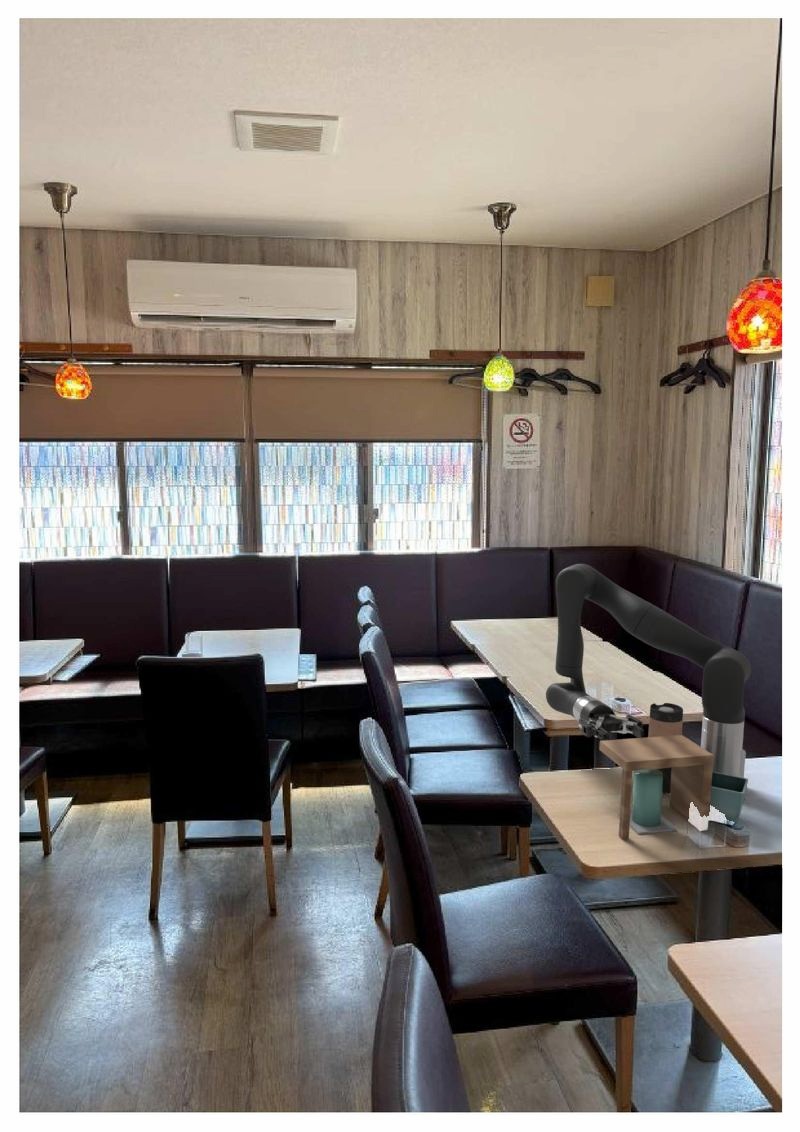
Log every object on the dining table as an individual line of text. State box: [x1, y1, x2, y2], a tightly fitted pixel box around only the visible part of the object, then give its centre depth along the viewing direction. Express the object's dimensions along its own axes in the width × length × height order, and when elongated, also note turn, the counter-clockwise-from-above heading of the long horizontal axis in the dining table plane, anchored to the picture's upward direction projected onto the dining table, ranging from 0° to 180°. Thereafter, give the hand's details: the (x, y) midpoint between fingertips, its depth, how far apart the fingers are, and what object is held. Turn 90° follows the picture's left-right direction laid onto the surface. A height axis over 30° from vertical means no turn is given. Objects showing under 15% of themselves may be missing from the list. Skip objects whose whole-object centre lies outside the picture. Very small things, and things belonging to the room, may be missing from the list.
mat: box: [617, 811, 678, 835], centre depth 172 cm, size 9×9×1 cm
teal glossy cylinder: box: [631, 769, 663, 827], centre depth 171 cm, size 6×6×11 cm
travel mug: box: [647, 702, 684, 794], centre depth 188 cm, size 8×8×20 cm
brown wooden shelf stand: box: [598, 734, 713, 841], centre depth 171 cm, size 20×12×17 cm, turn 102°
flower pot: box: [710, 772, 749, 823], centre depth 173 cm, size 9×9×9 cm
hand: (625, 736), depth 181 cm, fingers open, 8 cm apart
